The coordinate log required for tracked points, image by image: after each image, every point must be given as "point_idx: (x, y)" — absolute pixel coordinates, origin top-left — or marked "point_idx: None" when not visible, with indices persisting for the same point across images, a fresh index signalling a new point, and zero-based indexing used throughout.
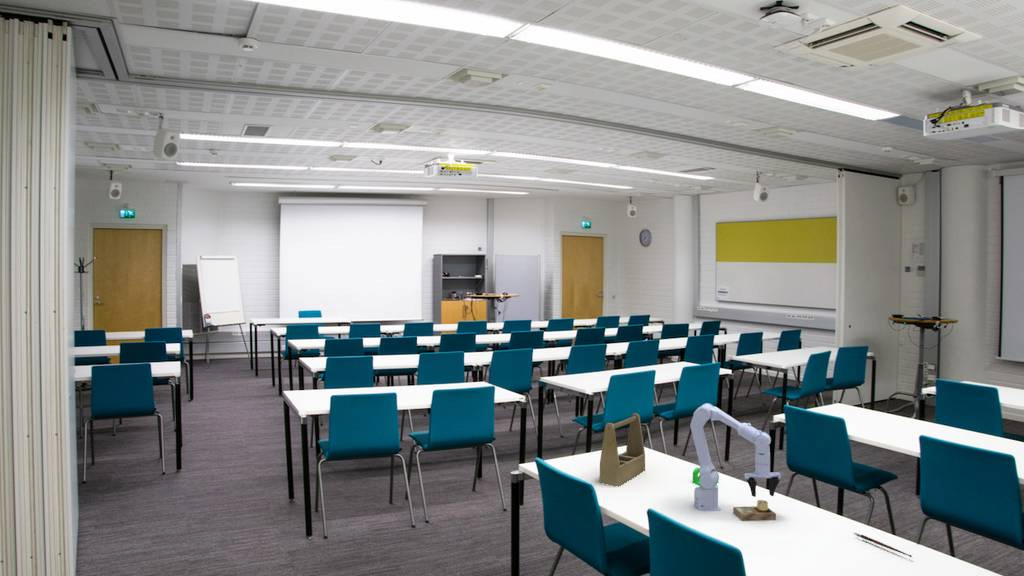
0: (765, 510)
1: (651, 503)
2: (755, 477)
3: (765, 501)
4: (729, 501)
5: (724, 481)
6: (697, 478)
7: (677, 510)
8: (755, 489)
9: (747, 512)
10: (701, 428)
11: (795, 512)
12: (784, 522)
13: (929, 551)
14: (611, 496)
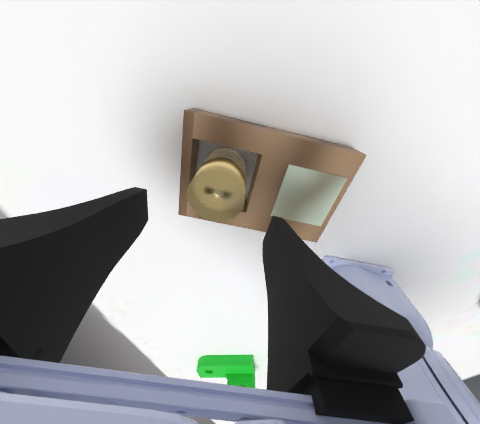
0: (220, 157)
1: (450, 331)
2: (286, 416)
3: (196, 195)
4: (244, 295)
5: (176, 363)
6: (248, 383)
7: (450, 287)
8: (292, 247)
9: (317, 171)
10: None
11: (62, 164)
12: (167, 54)
13: None
14: (476, 368)
